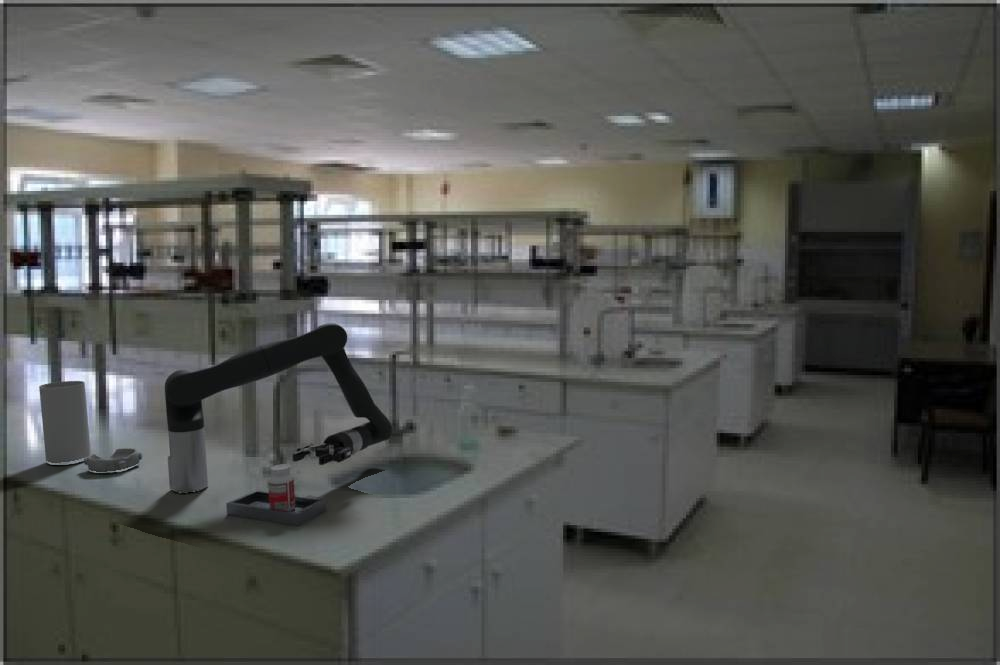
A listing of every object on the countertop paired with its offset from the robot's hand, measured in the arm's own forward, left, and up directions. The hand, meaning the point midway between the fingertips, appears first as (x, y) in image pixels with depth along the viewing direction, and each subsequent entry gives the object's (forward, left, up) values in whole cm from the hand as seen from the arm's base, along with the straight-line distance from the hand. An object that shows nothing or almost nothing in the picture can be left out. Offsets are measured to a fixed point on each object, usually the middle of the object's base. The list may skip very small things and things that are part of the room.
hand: (306, 459), depth 196 cm
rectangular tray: (-1, -12, -11) cm, 16 cm away
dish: (-75, +2, -11) cm, 76 cm away
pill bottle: (+1, -12, -10) cm, 15 cm away
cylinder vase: (-97, +3, -11) cm, 98 cm away
